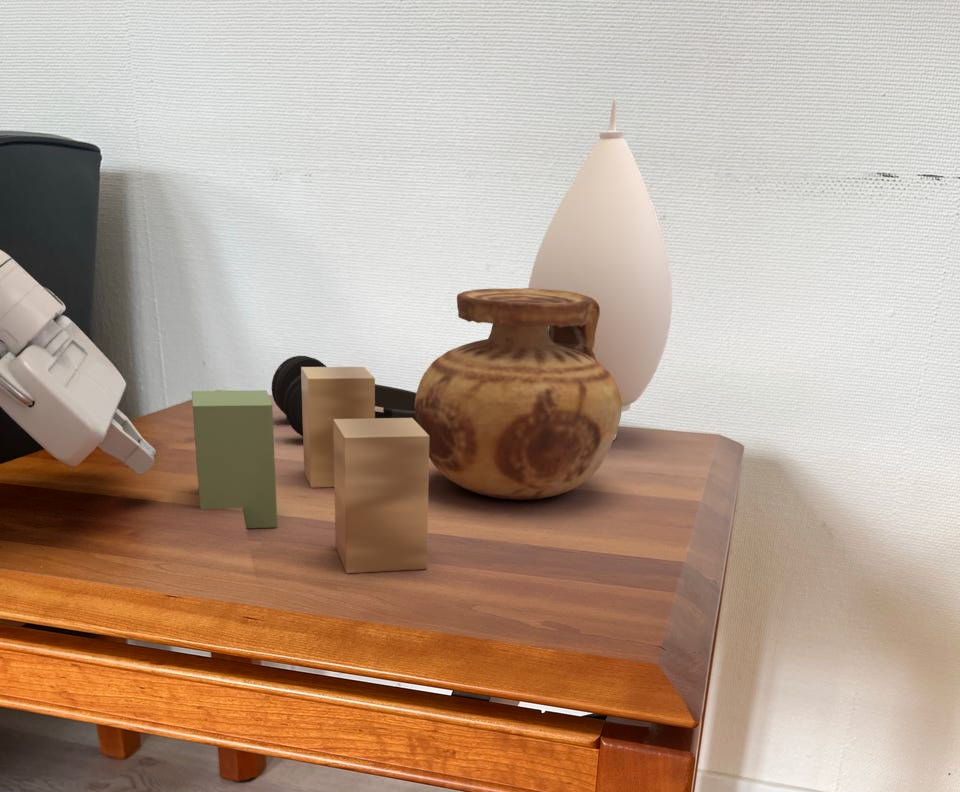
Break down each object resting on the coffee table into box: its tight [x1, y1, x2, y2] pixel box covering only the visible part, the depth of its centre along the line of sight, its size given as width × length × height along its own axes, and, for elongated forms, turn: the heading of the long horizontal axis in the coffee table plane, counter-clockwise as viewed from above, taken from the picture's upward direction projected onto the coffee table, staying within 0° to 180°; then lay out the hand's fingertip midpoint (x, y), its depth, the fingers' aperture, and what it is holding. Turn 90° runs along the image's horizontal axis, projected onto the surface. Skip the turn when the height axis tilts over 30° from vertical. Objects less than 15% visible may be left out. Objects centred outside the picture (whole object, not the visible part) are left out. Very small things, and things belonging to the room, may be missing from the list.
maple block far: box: [301, 366, 376, 489], centre depth 96 cm, size 6×6×10 cm
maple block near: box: [333, 418, 430, 574], centre depth 76 cm, size 6×6×10 cm
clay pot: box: [415, 287, 622, 501], centre depth 94 cm, size 19×19×20 cm
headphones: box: [271, 355, 417, 437], centre depth 117 cm, size 17×8×20 cm
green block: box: [191, 389, 278, 530], centre depth 83 cm, size 6×6×10 cm
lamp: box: [527, 97, 673, 436], centre depth 112 cm, size 16×16×35 cm
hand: (150, 465), depth 81 cm, fingers closed
